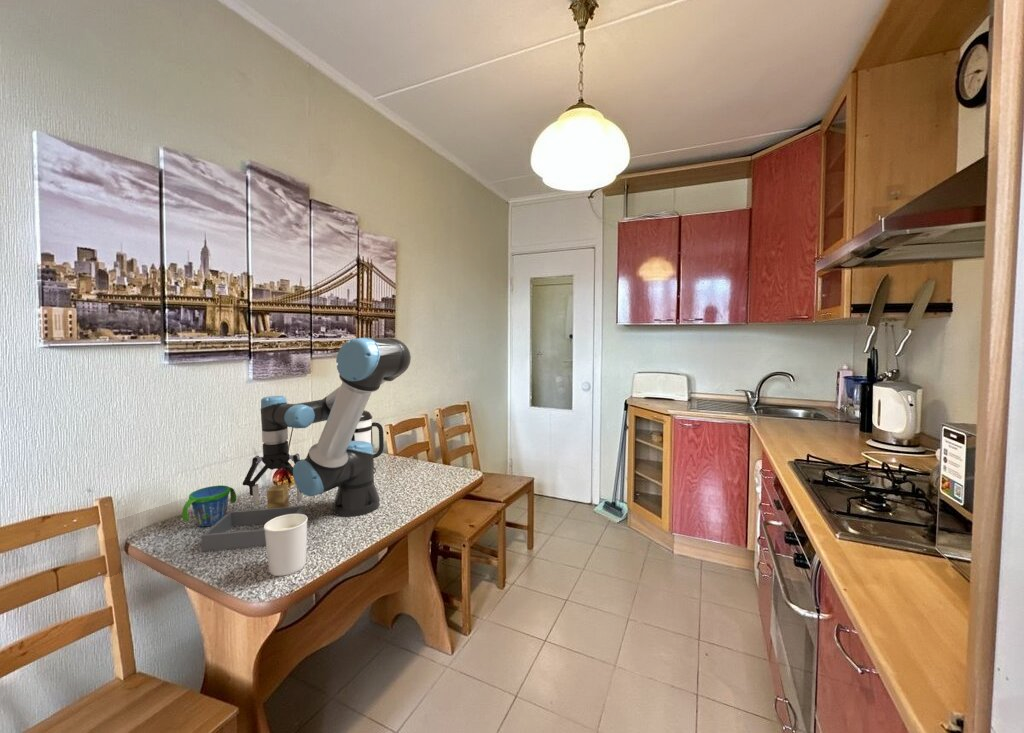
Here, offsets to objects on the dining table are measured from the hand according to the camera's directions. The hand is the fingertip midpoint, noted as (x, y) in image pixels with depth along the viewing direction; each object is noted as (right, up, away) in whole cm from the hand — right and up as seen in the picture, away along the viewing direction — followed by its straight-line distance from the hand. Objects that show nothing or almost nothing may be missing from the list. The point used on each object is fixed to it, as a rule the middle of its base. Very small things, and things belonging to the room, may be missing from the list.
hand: (278, 502), depth 137 cm
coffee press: (+13, 0, +40) cm, 42 cm away
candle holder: (+22, -5, -34) cm, 41 cm away
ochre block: (0, -3, 0) cm, 3 cm away
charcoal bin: (+3, -4, -16) cm, 17 cm away
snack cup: (-17, -4, -8) cm, 19 cm away
